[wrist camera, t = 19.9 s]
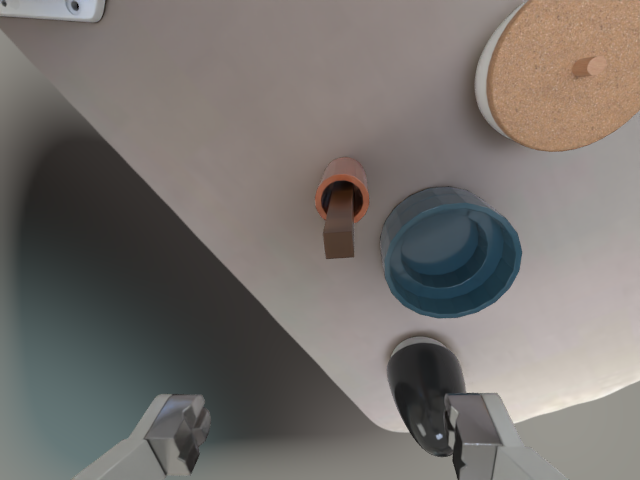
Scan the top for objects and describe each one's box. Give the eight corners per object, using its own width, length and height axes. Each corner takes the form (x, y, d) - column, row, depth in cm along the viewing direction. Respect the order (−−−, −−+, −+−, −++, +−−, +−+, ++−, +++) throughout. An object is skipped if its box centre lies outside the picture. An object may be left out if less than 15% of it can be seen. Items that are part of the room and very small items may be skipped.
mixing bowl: (382, 288, 45) (386, 320, 38) (377, 190, 39) (382, 209, 33) (489, 283, 43) (512, 316, 36) (500, 179, 37) (531, 197, 31)
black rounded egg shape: (449, 377, 50) (486, 483, 37) (383, 374, 51) (394, 476, 38) (458, 326, 46) (502, 424, 32) (385, 324, 47) (398, 419, 33)
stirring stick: (337, 189, 39) (325, 259, 22) (336, 173, 38) (322, 233, 22) (354, 188, 38) (354, 257, 22) (352, 171, 38) (351, 231, 21)
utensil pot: (325, 200, 40) (318, 228, 32) (320, 159, 38) (311, 177, 30) (367, 197, 39) (370, 224, 31) (364, 154, 37) (367, 171, 29)
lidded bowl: (486, -15, 30) (554, -69, 20) (619, 12, 30) (754, -28, 20) (440, 125, 35) (474, 138, 25) (552, 148, 35) (631, 170, 25)
